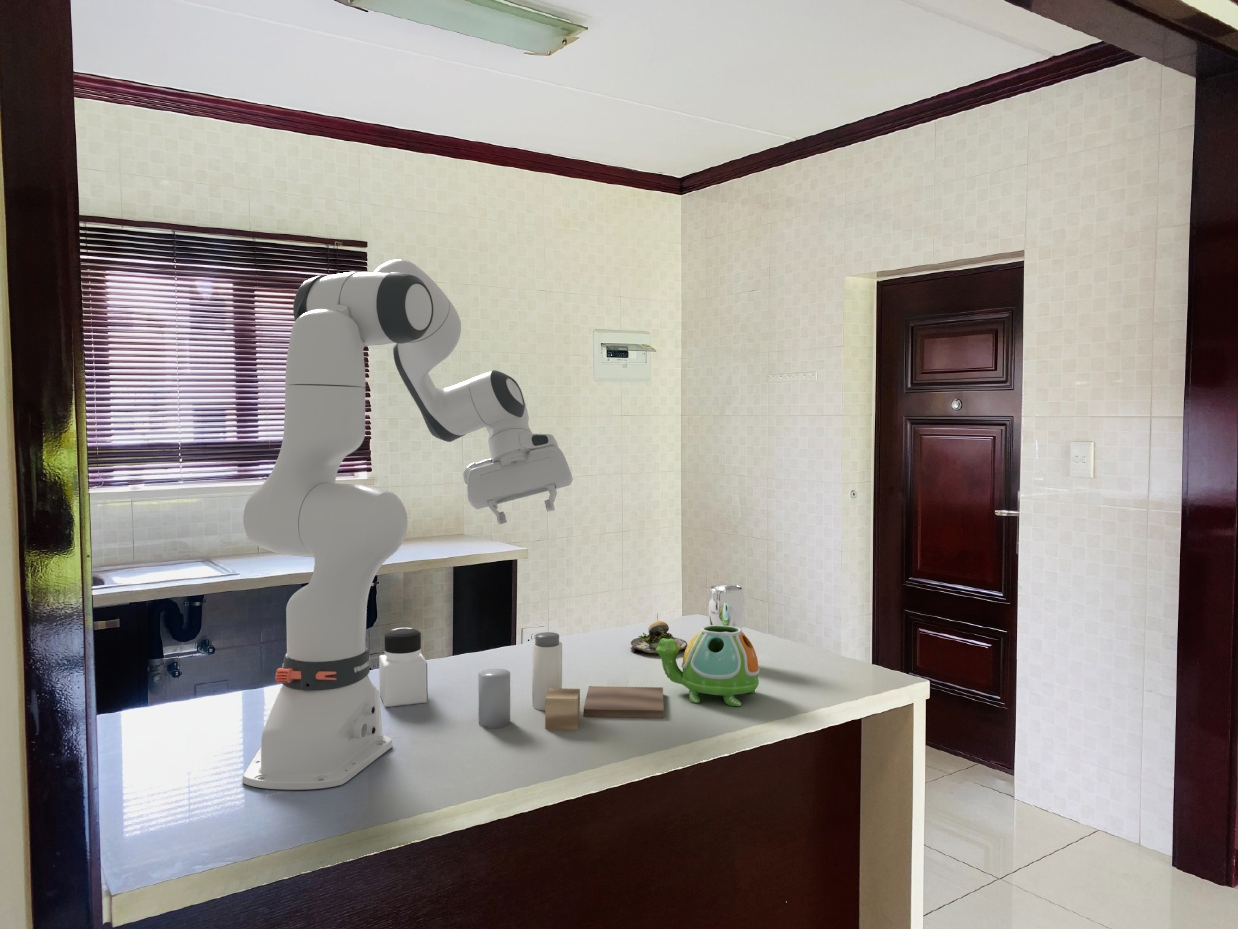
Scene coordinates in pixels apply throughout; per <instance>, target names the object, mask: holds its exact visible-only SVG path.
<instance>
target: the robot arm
mask: <svg viewBox="0 0 1238 929" xmlns="http://www.w3.org/2000/svg"><path fill="white" fill-rule="evenodd" d="M292 306H293V308H292V310H293V311H292V312H293V318H294V323H293V325H292V327H291V332H290V337H289V341H288V347H287V348H288V349H287V355H286V365H285V381H284V385H285V388H284V393H285V394H284V418H283V419H284V422H283V423H284V425H283V436H282V443H281V447H280V451H279V453H278V457H277V459H276V461H275V464H274V467H273V468H272V471H271V472H270V474H269V476H268V477H267V478H266V480H265V481H264V482H263V484H262V485H260V486H259V487H258V488H257V489H255V490H254V491H253V493H252V494H251V495H250V496H249V497H248V500H247V502H246V503H245V506H244V510H243V514H242V516H243V517H242V520H243V527H244V531H245V535H246V536H247V538H248V539H249V541H251V543H252V544H253V545H255V546H256V547H259V548H261V549H265V550H267V551H269V552H273V553H275V554H278V555H283V556H288V557H289V556H290V557H291V556H292V557H300V558H301V557H302V558H314V567H313V572H312V574H311V577H310V580H309V582H308V584H306V585H304V586H302V587H301V588H299V589H298V590H297V591H296V592H294V593H293V594H292V595H291V596H290V598H289V600H288V602H287V604H286V608H285V611H286V613H285V615H286V616H285V617H286V618H285V619H286V622H285V623H286V653H285V654H284V658H283V663H282V666H281V667H279V668H277V669H276V672H275V676H274V678H275V681H276V683H278V684H282V685H281V687H280V688H279V692H278V694H277V696H276V699H275V700H274V703H273V706H272V707H271V710H270V713H269V715H268V717H267V720H266V722H265V725H264V728H263V730H262V733H261V741H260V742H261V743H260V744H261V745H260V747H259V748H258V750H257V751H256V753H255V755H254V756H253V758H252V759H251V761H250V763H249V765H248V766H247V767H246V769H245V770H244V772H243V774H242V781H241V782H242V784H243V785H244V784H245V785H247V786H250V787H255V788H261V789H270V790H288V791H289V790H293V791H294V790H296V791H297V790H317V789H318V790H319V789H327V788H333V787H338V786H341V785H344V784H345V783H347V782H349V781H350V780H351V779H352V778H353V777H355V776H357V775H358V774H359V773H360V772H361V771H363V770H364V769H366V768H367V767H368V766H369V765H370V764H371V763H373V762H375V761H376V760H377V759H379V758H380V757H381V756H382V755H383V754H385V753H386V752H387V751H389V750H390V749H391V748H392V747H393V740H392V738H391V737H389V736H387V735H384V734H383V724H382V710H381V709H382V708H381V696H380V689H378V688H377V687H376V686H375V685H374V683H372V681H371V679H370V678H369V674H370V670H371V669H370V668H371V667H370V664H371V657H370V650H369V648H368V647H367V613H368V612H367V609H368V608H367V606H368V600H369V594H370V589H371V587H372V583H373V581H374V579H375V576H376V575H377V573H378V571H379V569H380V568H381V567H382V565H383V564H384V563H385V562H386V561H387V560H388V559H390V557H392V556H393V555H394V554H395V553H396V552H397V551H398V550H399V549H400V548H401V546H402V544H403V542H404V541H405V538H406V536H407V531H408V522H409V521H408V514H407V510H406V508H405V506H404V503H403V502H402V500H401V498H400V497H399V496H398V495H397V494H396V493H394V492H391V491H388V490H385V489H383V488H378V487H375V486H372V485H367V484H360V483H359V484H356V483H337V481H336V479H337V474H338V471H339V469H340V466H341V464H342V462H343V461H344V460H345V458H346V457H347V456H348V455H351V454H352V453H353V452H355V451H357V450H358V449H359V448H360V447H361V445H362V444H363V442H364V440H365V436H366V367H365V366H366V365H365V358H364V356H365V354H364V348H365V347H366V346H367V347H369V346H373V347H374V346H382V345H383V346H384V345H389V344H395V345H394V346H393V348H392V349H393V350H392V352H393V359H394V366H396V370H397V372H398V374H399V375H400V379H402V381H403V384H404V386H405V387H406V389H407V391H408V392H409V394H410V396H411V397H412V399H413V401H414V402H415V404H416V406H417V408H418V409H419V411H420V413H421V416H422V418H423V420H424V422H425V425H426V427H427V429H428V432H430V434H431V436H434V437H435V438H436V439H439V440H440V441H444V442H446V443H451V442H454V441H455V440H457V439H459V438H461V437H464V436H466V435H467V434H470V433H473V432H475V431H478V430H481V429H483V428H484V429H485V428H486V430H487V433H488V439H487V440H488V448H489V452H490V456H491V457H490V458H488V459H484V460H481V461H479V462H473V463H472V462H471V463H470V464H468V466H467V467H465V469H464V470H463V473H462V475H463V480H464V483H465V484H466V485H467V486H466V490H467V498H468V502H469V504H470V505H471V507H473V508H474V509H476V510H480V509H484V508H487V507H488V509H490V511H491V512H492V513H493V514H494V515H495V516H496V521H497V523H498V525H502V524H505V523H507V519H506V514H505V512H504V511H499V510H498V508H499V506H498V505H499V504H503V503H507V502H508V503H509V502H511V501H514V500H517V499H519V500H520V499H522V498H523V499H524V498H526V497H527V498H528V497H530V496H534V495H539V494H543V493H546V492H548V493H549V497H548V499H545V500H544V505H545V510H546V512H548V513H549V512H552V511H553V512H554V511H555V509H556V508H555V505H554V502H555V500H556V497H557V495H558V491H557V489H558V490H559V489H561V488H565V487H569V486H571V484H572V482H573V480H574V479H573V475H572V473H571V469H570V466H569V464H568V461H567V459H566V457H565V454H564V452H563V451H562V449H560V447H559V444H558V442H557V440H556V438H555V436H554V435H553V434H550V433H533V432H532V429H530V426H529V420H530V419H529V413H528V409H527V404H526V402H525V398H524V395H523V392H522V389H521V387H520V385H519V384H518V382H517V381H516V380H515V379H514V377H512V376H510V375H508V374H506V373H504V372H502V371H499V370H496V369H493V370H491V371H490V370H489V371H486V372H484V373H481V374H479V375H476V376H473V377H470V378H469V379H466V380H464V381H460V382H459V383H456V384H452V385H450V386H447V387H441V388H439V387H437V386H435V383H434V382H433V379H432V378H431V376H430V375H429V373H430V372H431V371H432V370H433V369H434V368H435V367H436V366H438V365H439V364H440V363H442V362H444V361H445V360H446V359H447V358H448V357H449V356H450V355H451V354H452V353H453V352H454V351H455V348H456V347H457V345H458V343H459V340H460V338H461V332H462V322H461V318H460V316H459V314H458V311H457V309H456V308H455V306H454V305H453V303H452V301H451V300H450V299H449V298H448V296H447V295H446V293H445V292H444V291H443V290H442V289H441V288H440V287H439V286H438V284H437V283H436V282H435V280H433V279H432V278H431V277H430V275H429V274H427V273H426V272H424V271H423V270H422V269H421V268H420V267H418V266H417V265H416V264H415V263H413V262H412V261H409V260H407V259H403V258H402V259H399V258H398V259H397V258H396V259H391V260H388V261H386V262H384V263H383V264H381V265H379V266H378V267H377V268H376V269H375V270H374V271H373V272H369V271H366V272H365V271H349V272H343V273H336V274H331V275H330V274H321V275H317V276H314V277H311V278H308V279H307V280H304V281H303V282H302V283H301V285H300V286H299V287H298V289H297V291H296V293H295V297H294V300H293V304H292Z"/></svg>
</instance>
